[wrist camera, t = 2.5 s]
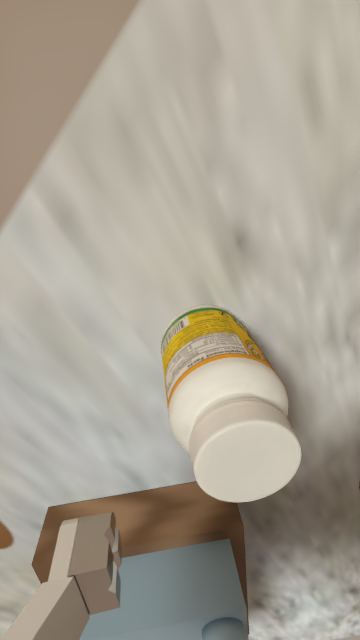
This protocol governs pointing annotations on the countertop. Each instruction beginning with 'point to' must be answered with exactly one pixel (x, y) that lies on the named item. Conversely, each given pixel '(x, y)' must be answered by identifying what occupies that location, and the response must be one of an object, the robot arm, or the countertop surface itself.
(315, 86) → the countertop surface
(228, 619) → the top brick
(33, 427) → the countertop surface
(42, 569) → the base brick
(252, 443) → the supplement bottle
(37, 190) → the countertop surface
